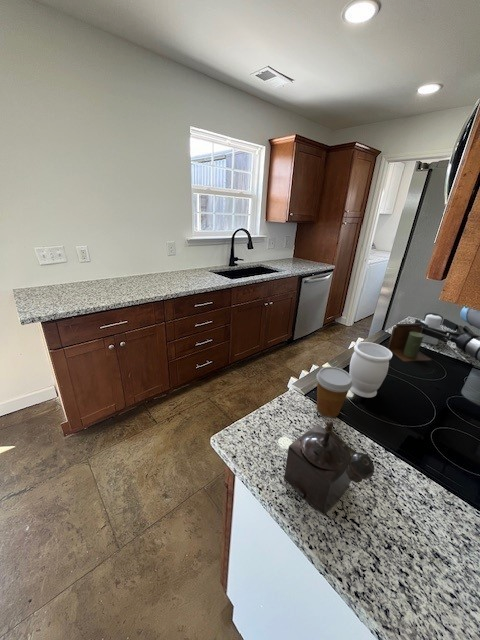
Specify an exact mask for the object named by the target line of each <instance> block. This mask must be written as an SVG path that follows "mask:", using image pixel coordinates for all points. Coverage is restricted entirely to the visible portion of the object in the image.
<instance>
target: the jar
mask: <svg viewBox="0 0 480 640" xmlns="http://www.w3.org/2000/svg"><path fill="white" fill-rule="evenodd" d="M392 358H393V352H391V351H390V350H389V349H388V348H387V347H385V346H384V345H381V344H378V343H375V342H371V341H360V342H357V343H354V346H353V353H352V355H351V358H350V361H349V374H350V376H351V378H352V382H353V385H352V387H351V388H350V389H349V391H350V392H352V393H353V394H355V395H357V396H359V397H362V398H367V399H369V398H374V397H376V396H377V394H378V390H379V389H380V387H381V386H382V385H383V382H384V381H385V379H386V376H387V375H388V372H389V367H390V360H392Z"/></svg>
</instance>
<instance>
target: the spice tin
mask: <svg viewBox="0 0 480 640" xmlns="http://www.w3.org/2000/svg"><path fill="white" fill-rule="evenodd" d="M423 337H424V335H423V334H421V333H418V332H410V333H409V336H408V339H407V342H406V345H405V348H404V351H403V354H404V355H406V356H408V357H412V358H415V357H417V354H418V352H419V351H420V348H421V346H422V343H423V342H422V340H423Z"/></svg>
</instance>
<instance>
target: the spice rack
mask: <svg viewBox="0 0 480 640" xmlns="http://www.w3.org/2000/svg"><path fill="white" fill-rule="evenodd" d="M421 330H422V326H421V323H415V322H413V323H410V322H409V323H396V324H395V326H393V327H392V331H391V334H390V338H389V341H388V344H387V347H386V348H387V349H389V350H390V351H391V352H392V354H394V355H395V356H396V357H398V358H399V359H400V360H401V361H402V362H420V361H421V362H422V361H432V358H430V357H429V356H427V355H426V354H425V353H423V352H422V351H421V350H419V352H418V354H417V357H415V358H412V357H408V356H406V355H404V354H403V351H404V348H405V345H406V342H407V339H408V336H409V333H410V332H418V333H421Z"/></svg>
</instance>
